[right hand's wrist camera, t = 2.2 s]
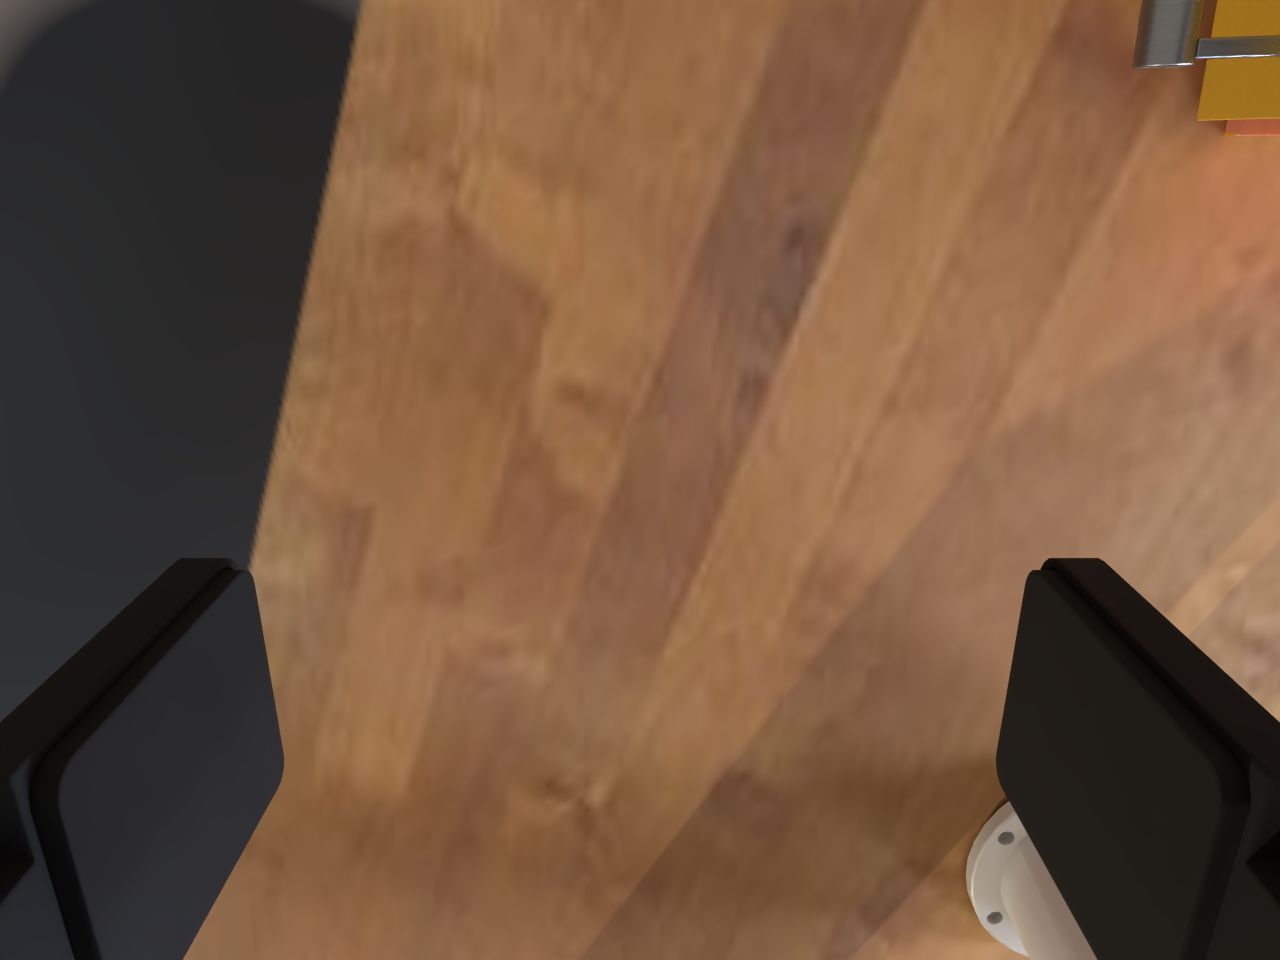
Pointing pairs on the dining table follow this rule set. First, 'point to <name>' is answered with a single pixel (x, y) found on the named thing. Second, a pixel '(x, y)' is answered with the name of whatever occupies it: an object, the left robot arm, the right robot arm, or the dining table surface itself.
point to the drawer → (1218, 53)
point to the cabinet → (1252, 127)
